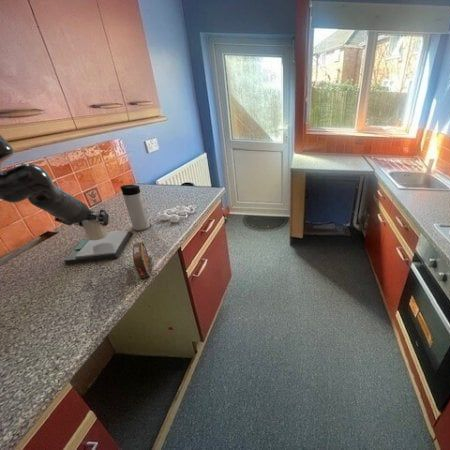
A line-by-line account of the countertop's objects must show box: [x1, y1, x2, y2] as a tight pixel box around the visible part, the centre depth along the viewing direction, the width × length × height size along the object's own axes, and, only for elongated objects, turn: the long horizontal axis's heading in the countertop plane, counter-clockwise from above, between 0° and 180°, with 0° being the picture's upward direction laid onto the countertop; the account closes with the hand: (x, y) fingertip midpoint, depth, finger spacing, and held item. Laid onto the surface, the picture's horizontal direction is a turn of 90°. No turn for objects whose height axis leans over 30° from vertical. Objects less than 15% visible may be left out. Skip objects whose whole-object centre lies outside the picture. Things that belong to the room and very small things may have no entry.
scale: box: [63, 229, 133, 265], centre depth 93 cm, size 15×18×3 cm
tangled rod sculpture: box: [156, 204, 198, 223], centre depth 121 cm, size 19×14×4 cm
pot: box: [81, 217, 108, 241], centre depth 90 cm, size 6×6×8 cm
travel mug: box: [120, 184, 151, 232], centre depth 104 cm, size 6×7×20 cm
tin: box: [132, 241, 151, 279], centre depth 83 cm, size 15×3×8 cm, turn 30°
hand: (96, 224), depth 91 cm, fingers closed on pot, 5 cm apart
